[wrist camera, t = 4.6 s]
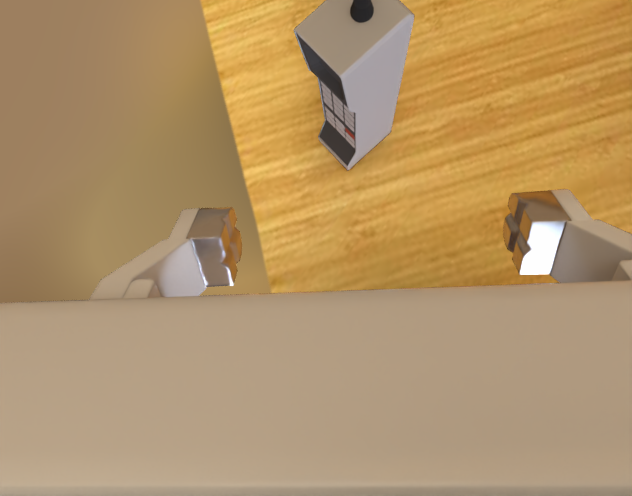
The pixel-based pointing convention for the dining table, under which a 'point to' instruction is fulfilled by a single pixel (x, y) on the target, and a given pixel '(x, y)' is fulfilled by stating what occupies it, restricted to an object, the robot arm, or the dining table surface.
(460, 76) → the dining table surface
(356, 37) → the vintage mobile phone
